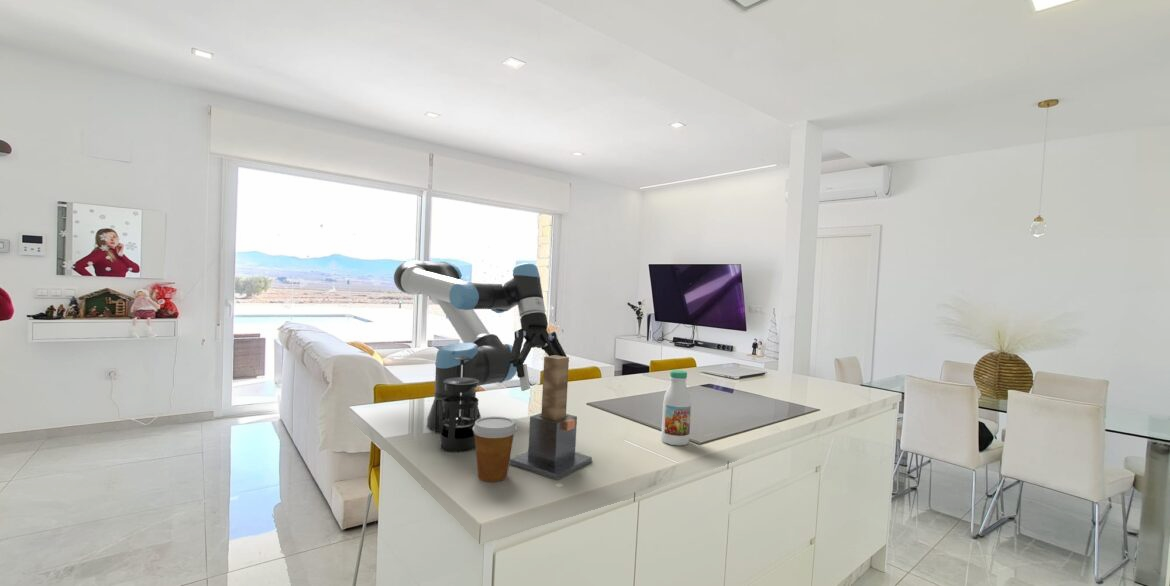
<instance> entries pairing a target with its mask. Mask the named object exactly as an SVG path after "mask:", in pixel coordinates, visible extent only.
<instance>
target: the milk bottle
mask: <svg viewBox="0 0 1170 586" xmlns="http://www.w3.org/2000/svg"><path fill="white" fill-rule="evenodd" d="M687 377H688V372H687V371H685V370H682V369H681V370H680V369H672V370H670V374H669V378H670V382H669V386H668V387H667V390H666V391H665V393H664V396H663V402H662V414H661V415H662V417H661V418H662V419H661V435H660V437H661V438H660V439H661V441H662V442H663V443H665V444H667V445H672V446H686V445H688V444H689V441H690V429H691V413H692V412H691V410H692V409H691V408H692V407H691V406H692V403H691V402H692V401H691V397H690V396H691V395H690V393H689V390H688V387H687V382H686V381H687V380H688V379H687Z"/></svg>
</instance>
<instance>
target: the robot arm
mask: <svg viewBox="0 0 1170 586" xmlns="http://www.w3.org/2000/svg"><path fill="white" fill-rule="evenodd" d="M538 268H539V267H538V266H537V265H535V264H534V263H528V262H526V263H520V264H517V265H516V266H514V267H513V270H512V276H513V277H512V278H510V280H508V281H506V282H505V283H478V282H471V281H467V280H463V278H462V276H463V275H462V272H461V270H460V268H459V267H458V266H456V265H455V264H453V263H450V262H446V261H425V260H415V259H413V260H408V261H407V260H406V261H404V262H403V263H401V264H400V265H398V267H396V269H395V271H394V274H393V281H394V285H395V287H396V288H397V289H398V290H399V291H401V292H402V293H404V294H409V295H412V296H413V295H414V296H415V295H422V296H426V297H429V299H430V301H431V302H432V303H433V304H434V305H438V306H439V308H441V310H442V311H443V313H444V314H445V316H446V317H447V319H448V321H449V322H450V324H451V326H452V327H453V329H454V330H455V332H456V333H457V335H458V336H459V338H460V340H461V341H462V342H458V343H457V342H456V343H450V344H447V345H443V346H441V347H440V348H439V349H438V350H437V352H436V359H435V375H434V376H435V378H434V379H435V380H434V381H435V382H434V399H433V403H432V405H431V407H430V410H429V413H428V416H427V419H426V422H427V423H426V426H427V428H428V429H430V430H433V431H435V413H436V399H438V398H446V397H450V396H460V393H455V392H448V391H446V390H445V384H444V383H443V381H444V380H445V379H449V378H457V377H461V365H460V360H455V359H454V358H455V357H460V356H464V357H469V358H471V359H470V360H464V365H463V372H462V377H466V378H474V379H478V380H479V383H478V384H477V387H479V386H484V385H493V384H498V383H499V384H501V383H504V382H508V381H510V380H512V379H513V378H514V377H515V375H516V374H517V378H518V379H519V384H520V391H521V392H524V391H527V390H529V389H531V383H530V379H529V378H530V377H529V370H528V365H527V363H525V361H526V359H527V357H528V356H529V354H530V352H531V350H532V348H538V349H541V350H542V351H544V352H545V353H546V354H547V356H552V355H557V356H564V357H568V356H567V354H566V352H565V350H564V348H563V347H562V345H561V343H560V341H559V339H558V336H557V332H555V331H553V332H548V330H547V328H548V326H549V323H548V319H547V314H546V307H545V301H544V296H543V289H542V283H541V275H540V272H539V269H538ZM516 306H517V308H518V314H519V317H520V319H519V321H520V327H521V328H520V329H518V330H516V331H514V340H513V345H512V344H510V343H509V344H508V343H505V344H504V343H503V342H502V341H501V339H500V338H499V337H498V335H496V334H493V333H491V332H489V330H488V329H487V328H486V325H484V323H483V322H482V319H480V317H479V316H478V313H476V312H475V310H491V311H492V312H495V313H497V314H503V313H505V312H508V311H511V309H513V308H514V307H516ZM524 339H525V341H524ZM523 342H524V343H523ZM477 387H472V388H471V389H470V390H468V391H467V392H464V393H462V395H461V396H472V397H476V398H477V396H476V394H477ZM447 403H451V404H460V401H451V402H447ZM471 403H473V402H472V401H471ZM461 404H464V401H461ZM459 410H460V409H456V417H459ZM442 414H443V406H442V401H440V416H439V430H442ZM461 417H464V409H461ZM447 418H449V408H446V419H447ZM470 418H473V419H474V408H470ZM481 418H482V417H481V413H480V410H479V408H478V414H477V420H478V419H481ZM448 428H449V427H446V430H448ZM470 429H473V426H471V427H470Z"/></svg>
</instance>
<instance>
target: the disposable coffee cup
mask: <svg viewBox="0 0 1170 586" xmlns="http://www.w3.org/2000/svg"><path fill="white" fill-rule="evenodd" d="M473 431H474V434H475V446H476V448H475V454H476V455H475V456H476V470H477V478H478V479H479V480H480V481H483V482H489V483H491V482H492V483H493V482H500V481H503V480H505V479H506V478H507V476H508V471H509V466H510V459H511V456H512V455H511V453H512V448H513V441H514V437H515V433H516V432H517V426H516V422H515V420H514V419H512V418H509V417H505V416H487V417H481V419H478V420H477V421H475V425H474V426H473Z"/></svg>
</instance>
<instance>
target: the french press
mask: <svg viewBox="0 0 1170 586" xmlns="http://www.w3.org/2000/svg"><path fill="white" fill-rule="evenodd" d="M454 359H455V360H460V365H461V377H457V378H449V379H445V380H444V381H443V383H444V384H445V390H446V391H448V392H455V393H460V396H450V397H446V398H438V399H436V413H435V430H434V434H440V443H439V449H440V450H442V451H444V452H449V453H464V452H469V451H472V450H476V446H475V434H474V431H473V429H470V427H471V426H474V425H475V421H477V414H478V409H479V398H477V396H476V397H472V396H461V395H462V393H464V392H467V391H468V390H470V389H471V388H472V387H476V388H477V387H478V386H477V384H478V383H479V380H478V379H474V378H466V377H462V372H463V365H464V360H470V359H471V358H469V357H464V356H460V357H455V358H454ZM440 401H442V406H443V414H442V430H439V416H440ZM451 401H460V404H451V403H447V402H451ZM461 401H464V404H461ZM471 401H472V402H473V403H471ZM446 408H449V418H447V419H446ZM470 408H474V419H473V418H470ZM456 409H460V410H459V417H456ZM461 409H464V417H461ZM446 427H449V428H448V430H446Z"/></svg>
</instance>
